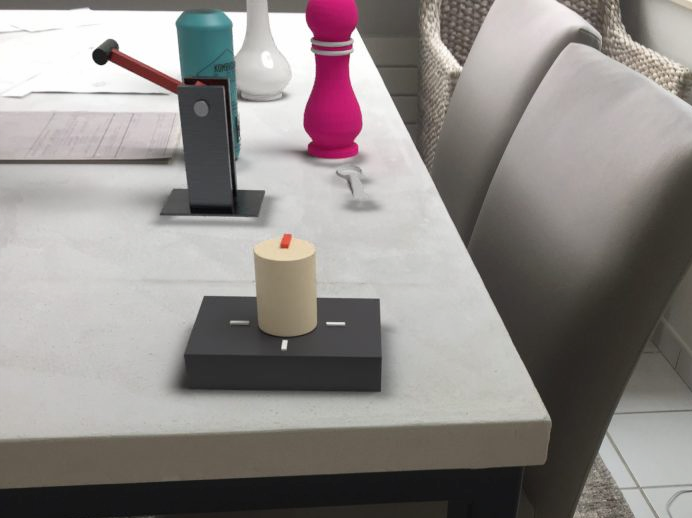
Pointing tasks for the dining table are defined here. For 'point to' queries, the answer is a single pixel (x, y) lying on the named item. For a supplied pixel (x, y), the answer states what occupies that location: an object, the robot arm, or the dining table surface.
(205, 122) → the lever bracket
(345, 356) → the dial panel
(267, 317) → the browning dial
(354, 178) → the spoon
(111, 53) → the red lever
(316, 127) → the pepper mill
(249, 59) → the flower vase
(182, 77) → the beverage bottle
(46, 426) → the dining table surface
